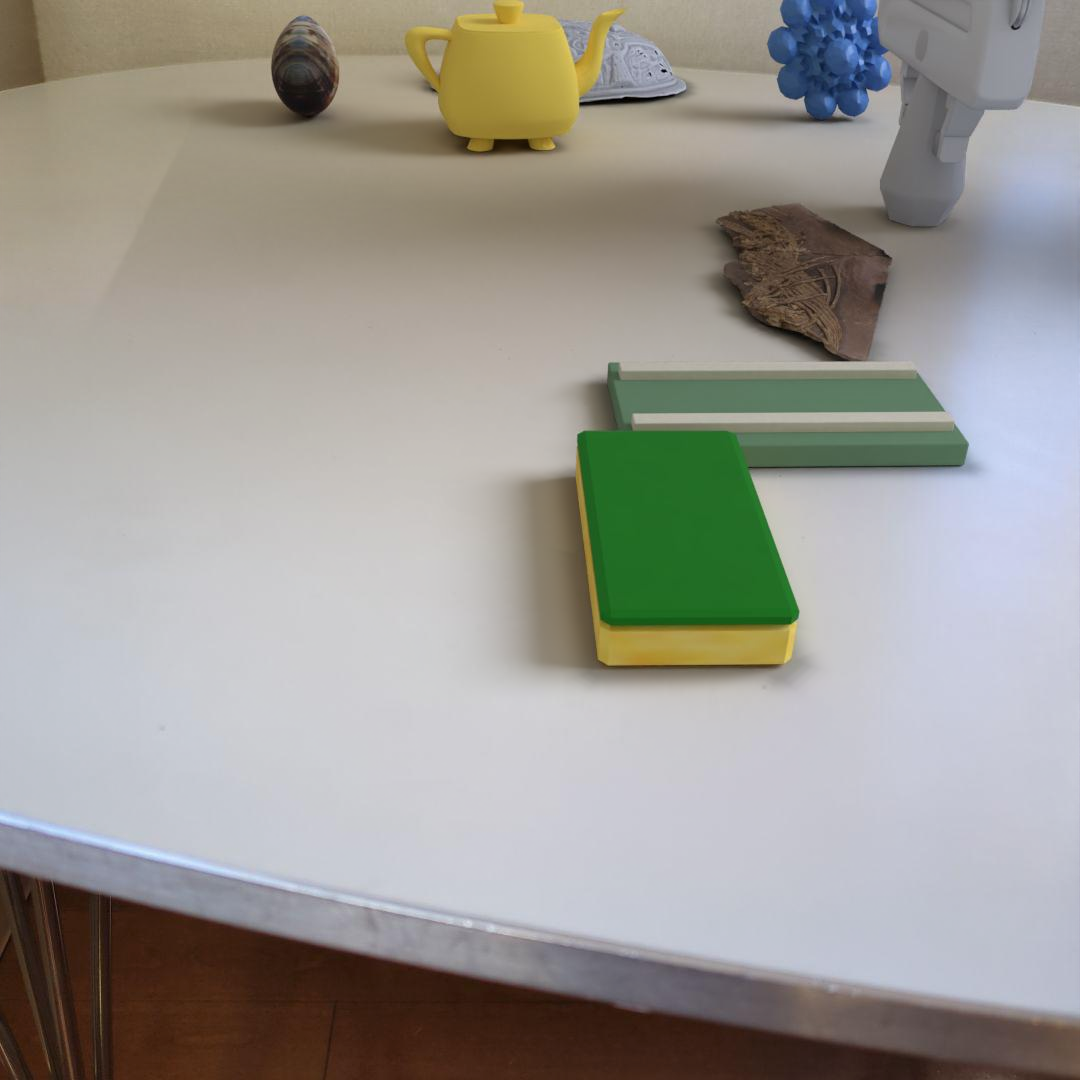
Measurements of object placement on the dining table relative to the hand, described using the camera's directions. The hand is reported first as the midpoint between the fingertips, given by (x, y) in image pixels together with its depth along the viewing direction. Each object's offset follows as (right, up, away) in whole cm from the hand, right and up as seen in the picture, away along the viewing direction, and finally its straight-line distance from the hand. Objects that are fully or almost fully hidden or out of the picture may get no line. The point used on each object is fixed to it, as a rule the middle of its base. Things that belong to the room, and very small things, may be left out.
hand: (929, 145), depth 84 cm
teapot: (-29, +6, +18) cm, 35 cm away
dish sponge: (-22, -28, -34) cm, 49 cm away
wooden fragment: (-10, -11, -8) cm, 17 cm away
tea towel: (-15, -22, -24) cm, 36 cm away
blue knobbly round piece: (-1, +10, +25) cm, 27 cm away
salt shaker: (0, -4, +3) cm, 5 cm away
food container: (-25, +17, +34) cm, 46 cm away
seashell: (-47, +10, +23) cm, 54 cm away
